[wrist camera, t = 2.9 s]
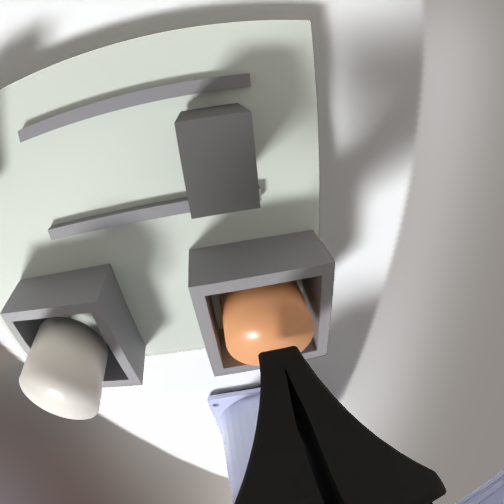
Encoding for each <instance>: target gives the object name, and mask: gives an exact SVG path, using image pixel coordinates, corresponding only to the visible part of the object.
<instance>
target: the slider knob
mask: <svg viewBox="0 0 504 504" xmlns="http://www.w3.org/2000/svg"><path fill="white" fill-rule="evenodd" d="M174 124H175V131H176V137H177V143H178V149H179V154H180V160H181V166H182V171H183V177H184V182H185V187H186V193H187V198H188V203H189V208H190V213H191V218H192V219H195V218H201V217H207V216H213V215H219V214H225V213H231V212H238V211H244V210H251V209H257V208H261V206H260V195H259V184H258V174H257V163H256V153H255V142H254V132H253V122H252V112H251V111H250V110H248V109H247V108H245V107H244V106H242V105H240V104H239V103H234V104H226V105H218V106H211V107H205V108H198V109H192V110H186V111H181V112H180V114H179V115H178V117H177V119H176V121H175V122H174Z"/></svg>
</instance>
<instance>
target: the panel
mask: <svg viewBox="0 0 504 504" xmlns="http://www.w3.org/2000/svg"><path fill="white" fill-rule="evenodd" d="M234 103H239V104H240V105H242V106H244V107H245V108H247V109H248V110H250V111H251V112H252V122H253V132H254V142H255V153H256V163H257V174H258V184H259V195H260V206H261V208H257V209H251V210H244V211H238V212H231V213H225V214H219V215H213V216H207V217H201V218H195V219H192V218H191V213H190V208H189V203H188V198H187V193H186V187H185V182H184V177H183V171H182V166H181V160H180V154H179V149H178V143H177V137H176V131H175V124H174V122H175V121H176V119H177V117H178V115H179V114H180V112H181V111H186V110H192V109H198V108H205V107H211V106H218V105H226V104H234ZM334 270H335V261H334V260H333V258H332V257H331V255H330V254H329V252H328V251H327V249H326V248H325V246H324V245H323V244H322V242H321V241H320V239H319V141H318V116H317V96H316V80H315V66H314V53H313V42H312V31H311V21H310V20H257V21H240V22H228V23H218V24H210V25H202V26H195V27H188V28H182V29H176V30H171V31H165V32H160V33H156V34H151V35H146V36H142V37H138V38H134V39H130V40H126V41H122V42H119V43H115V44H111V45H108V46H105V47H101V48H98V49H95V50H92V51H89V52H86V53H83V54H80V55H77V56H74V57H72V58H69V59H66V60H64V61H61V62H59V63H56V64H54V65H51V66H49V67H46V68H44V69H42V70H39V71H37V72H35V73H32V74H30V75H28V76H26V77H24V78H22V79H20V80H18V81H16V82H13V83H11V84H10V85H8V86H6V87H4V88H2V89H0V320H1V321H2V323H3V324H4V326H5V328H6V329H7V331H8V332H9V334H10V335H11V336H12V338H13V339H14V341H15V342H16V344H17V345H18V346H19V348H20V349H21V351H22V352H23V353H24V355H25V356H26V357H27V356H28V354H29V351H30V349H31V346H32V344H33V341H34V339H35V336H36V334H37V332H38V329H39V327H40V325H41V324H42V322H44V321H45V320H47V319H49V318H52V317H66V318H71V319H74V320H77V321H80V322H82V323H84V324H86V325H87V326H89V327H90V328H92V329H93V330H94V331H96V332H97V333H98V334H99V335H100V336H101V338H102V339H103V340H104V342H105V343H106V346H107V348H108V359H107V364H106V369H105V375H104V380H103V386H102V387H117V386H132V385H142V381H143V369H144V358H145V356H149V355H158V354H166V353H174V352H182V351H189V350H196V349H203V348H206V351H207V354H208V357H209V360H210V364H211V367H212V370H213V373H214V376H221V375H227V374H234V373H240V372H245V371H251V370H257V369H260V366H252V365H247V364H244V363H242V362H239V361H238V360H236V359H235V358H233V357H232V356H231V355H230V353H229V352H228V350H227V347H226V342H225V335H224V327H223V320H222V312H221V304H220V296H219V294H221V293H227V292H233V291H239V290H245V289H250V288H256V287H262V286H267V285H273V284H278V283H284V282H289V281H295V280H296V282H297V285H298V287H299V289H300V291H301V294H302V296H303V298H304V300H305V302H306V305H307V307H308V309H309V311H310V314H311V316H312V318H313V320H314V324H315V331H314V335H313V338H312V340H311V342H310V343H309V345H308V346H307V347H306V348H305V349H304V350H303V351H302V352H301V354H302V355H303V357H304V359H310V358H314V357H318V356H322V355H326V354H327V346H328V337H329V328H330V318H331V307H332V296H333V284H334Z"/></svg>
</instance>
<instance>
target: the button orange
mask: <svg viewBox="0 0 504 504" xmlns="http://www.w3.org/2000/svg"><path fill="white" fill-rule="evenodd" d="M219 296H220V304H221V312H222V320H223V327H224V335H225V342H226V347H227V350H228V352H229V353H230V355H231V356H232V357H233V358H235V359H236V360H238V361H239V362H242V363H244V364H247V365H252V366H259V358H258V355H259V354H260V353H261V352H265V351H271V350H276V349H281V348H286V347H290V346H296V347H298V349H299V351H300V352H302V351H303V350H304V349H305V348H306V347H307V346H308V345H309V343H310V342H311V340H312V338H313V335H314V331H315V324H314V320H313V318H312V316H311V314H310V311H309V309H308V307H307V305H306V302H305V300H304V298H303V296H302V294H301V291H300V289H299V287H298V285H297V282H296V280H295V281H289V282H284V283H278V284H273V285H267V286H262V287H256V288H250V289H245V290H239V291H233V292H227V293H221V294H219Z"/></svg>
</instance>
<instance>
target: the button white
mask: <svg viewBox="0 0 504 504" xmlns="http://www.w3.org/2000/svg"><path fill="white" fill-rule="evenodd" d="M107 359H108V348H107V346H106V343H105V342H104V340H103V339H102V338H101V336H100V335H99V334H98V333H97V332H96V331H94V330H93V329H92V328H90V327H89V326H87V325H86V324H84V323H82V322H80V321H77V320H74V319H71V318H66V317H52V318H49V319H47V320H45V321H44V322H42V324H41V325H40V327H39V329H38V332H37V334H36V336H35V339H34V341H33V344H32V346H31V349H30V351H29V354H28V356H27V359H26V361H25V364H24V367H23V370H22V373H21V375H20V378H19V384H20V387H21V389H22V391H23V392H24V394H25V395H26V396H27V397H28V398H29V399H30V400H31V401H32V402H33V403H35V404H36V405H38V406H39V407H41V408H42V409H44V410H46V411H48V412H50V413H52V414H55V415H57V416H61V417H64V418H68V419H75V420H84V419H89V418H92V417H94V416H95V415H96V414H97V413H98V411H99V405H100V398H101V392H102V386H103V380H104V375H105V369H106V364H107Z"/></svg>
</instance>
